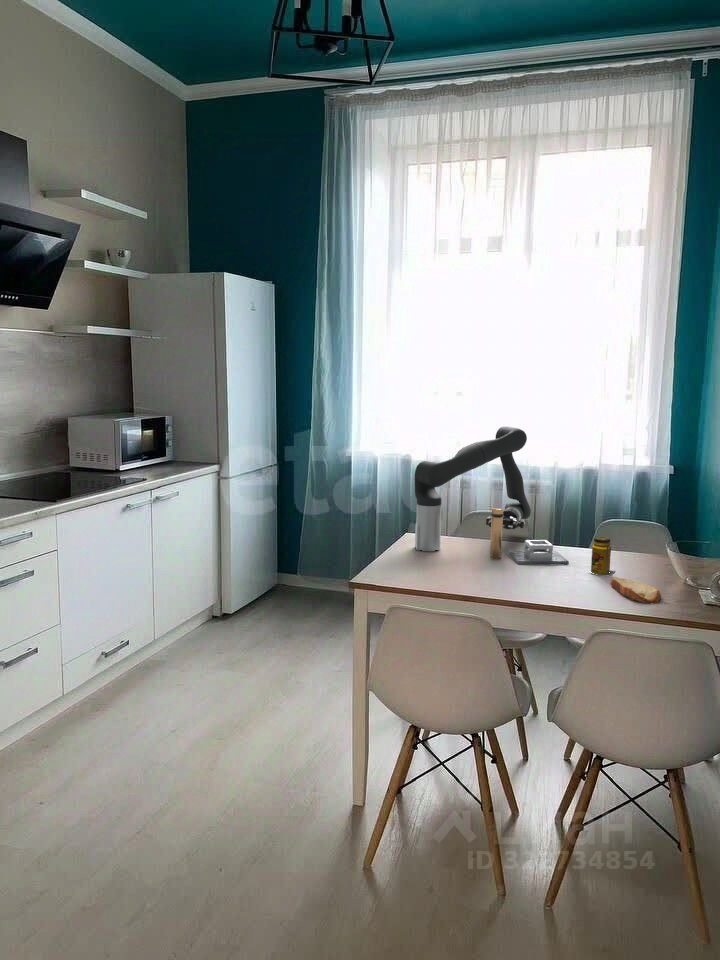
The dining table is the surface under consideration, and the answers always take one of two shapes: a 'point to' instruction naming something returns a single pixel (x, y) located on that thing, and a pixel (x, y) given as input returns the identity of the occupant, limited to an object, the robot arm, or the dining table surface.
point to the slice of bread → (636, 590)
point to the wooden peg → (496, 533)
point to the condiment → (601, 557)
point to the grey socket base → (538, 554)
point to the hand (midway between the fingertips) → (502, 525)
